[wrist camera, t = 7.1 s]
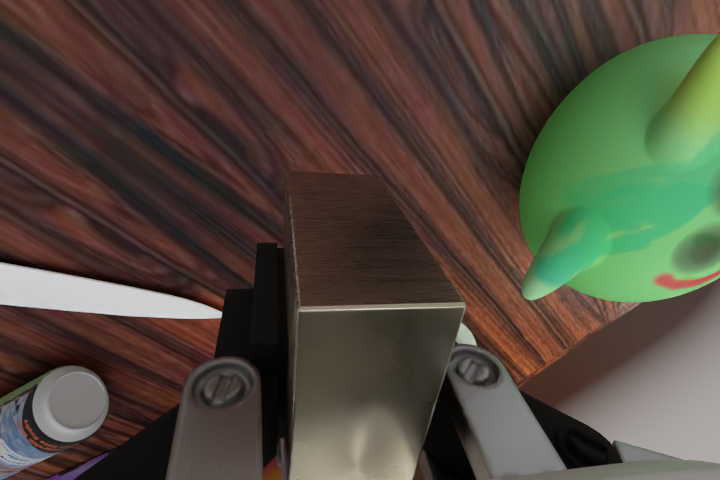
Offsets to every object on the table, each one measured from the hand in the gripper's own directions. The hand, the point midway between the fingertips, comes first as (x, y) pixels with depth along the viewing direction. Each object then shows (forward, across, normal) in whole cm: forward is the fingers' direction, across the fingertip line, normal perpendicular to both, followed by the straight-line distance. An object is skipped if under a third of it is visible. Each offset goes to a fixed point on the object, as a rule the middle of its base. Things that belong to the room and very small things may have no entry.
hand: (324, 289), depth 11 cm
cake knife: (0, 0, +6) cm, 7 cm away
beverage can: (+15, +16, +20) cm, 30 cm away
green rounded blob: (+19, -23, 0) cm, 30 cm away
